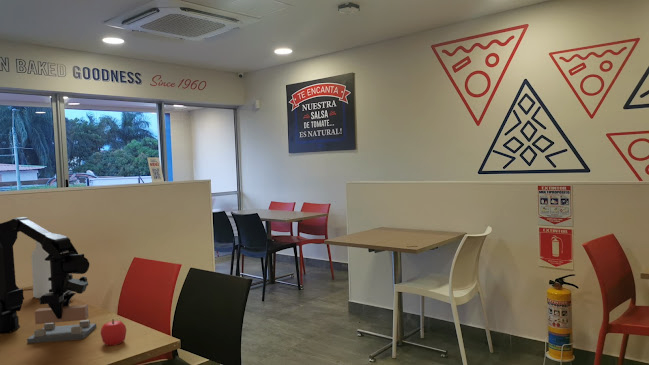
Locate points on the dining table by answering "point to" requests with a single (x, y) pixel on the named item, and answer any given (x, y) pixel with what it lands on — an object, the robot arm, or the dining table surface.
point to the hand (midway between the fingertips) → (62, 316)
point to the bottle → (40, 271)
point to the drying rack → (62, 332)
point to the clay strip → (67, 314)
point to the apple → (113, 332)
